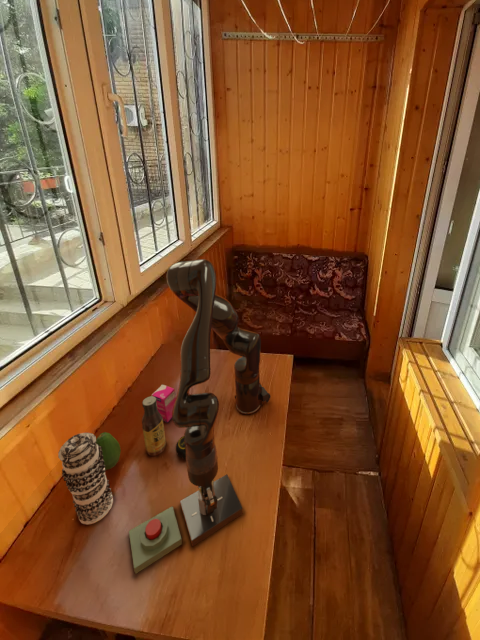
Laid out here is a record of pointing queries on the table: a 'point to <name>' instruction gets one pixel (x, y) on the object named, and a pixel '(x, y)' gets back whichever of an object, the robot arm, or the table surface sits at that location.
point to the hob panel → (222, 515)
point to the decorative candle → (86, 477)
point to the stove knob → (201, 504)
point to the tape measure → (181, 448)
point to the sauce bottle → (153, 427)
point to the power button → (153, 529)
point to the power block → (154, 540)
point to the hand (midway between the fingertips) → (207, 503)
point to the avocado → (109, 449)
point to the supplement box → (165, 401)
